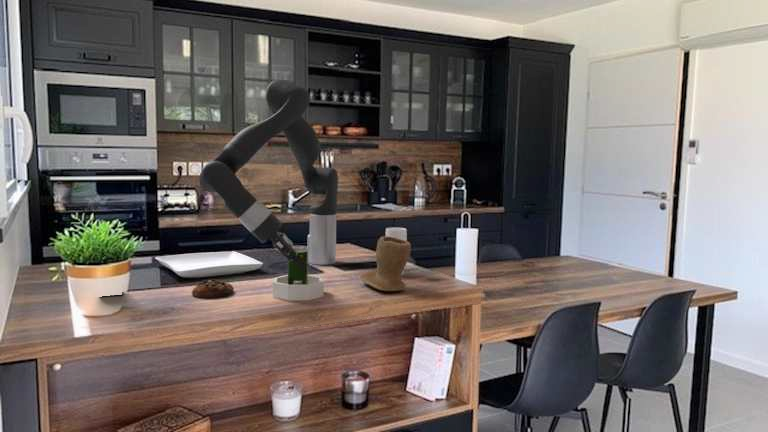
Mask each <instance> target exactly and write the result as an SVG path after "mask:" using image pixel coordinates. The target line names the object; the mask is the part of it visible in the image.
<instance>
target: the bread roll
mask: <svg viewBox="0 0 768 432" xmlns="http://www.w3.org/2000/svg"><path fill="white" fill-rule="evenodd" d="M233 292H234V286H233V285H231V283H229V282H226V281H224V280H222V279H216V278H215V279H214V278H212V279H211V278H210V279H206V280H201V281H200V282H198V284H197V285H196V286H195V287H193V289H192V291H191V295H193V296H194V297H195V298H202V299H221V298H220V297H222V298H226V297H229V296H230V294H231V295H232V294H233Z"/></svg>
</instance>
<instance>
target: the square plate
mask: <svg viewBox="0 0 768 432" xmlns="http://www.w3.org/2000/svg"><path fill="white" fill-rule="evenodd" d="M154 258H155V259H156V260H157V261H158V262H159V263H160V264H161V265H162V266H164V267H165V268H167V269H169V270H171V271H172V272H174V273H175V274H176V275H177V276H179V277H181V278H194V279H195V278H204V277H205V278H207V277H216V276H226V275H233V274H235V273H236V274H243V273H246V272H252V271H256V270H258V269H260V268H261V267H262V265H264V262H262V261H259V260H257V259H255V258H253V257H251V256H248V255H245V254H243V253H239V252H237V251H235V250H233V251H216V252H215V251H214V252H213V251H211V252H193V253H184V254H183V253H181V254H173V255H165V256H156V257H154Z"/></svg>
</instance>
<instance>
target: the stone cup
mask: <svg viewBox="0 0 768 432" xmlns="http://www.w3.org/2000/svg"><path fill="white" fill-rule="evenodd" d="M375 249H376V250H375V259H376V260H375V261H376V266H377V267H376V271H370V272H365V273H362V274H360V275H359V276H358V278H359V280H361V281H362V282H363V283H365V284H367V285H368V286H370V287H372V288H374V289H375V290H378V291H383V292H399V291H403V290H405V289H406V288H407V286H406V284H405V283H404V282H403V280H402V276H403V275H402V272H403V270H404V269H405V267H406V266H407V263H408V261H409V258H410V255H411V251H412V245H411V243H410V242H409V241H405V240H402V239H397V238H394V237H388V236H384V235H383V236H381V237H379V239H378V241H377V244H376V248H375Z"/></svg>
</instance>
